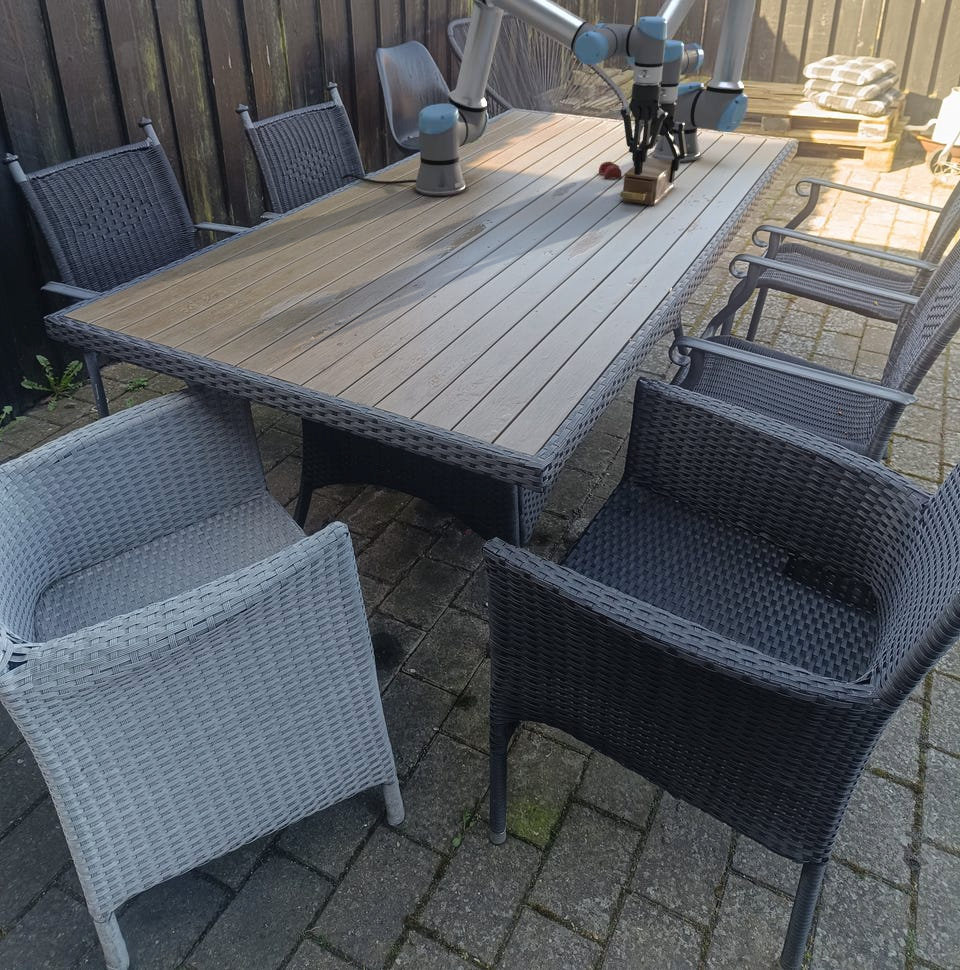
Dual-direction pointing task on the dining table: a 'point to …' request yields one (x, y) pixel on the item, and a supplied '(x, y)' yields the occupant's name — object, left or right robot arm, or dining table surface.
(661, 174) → the cabinet
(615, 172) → the dental model
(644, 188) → the drawer
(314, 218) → the dining table surface
